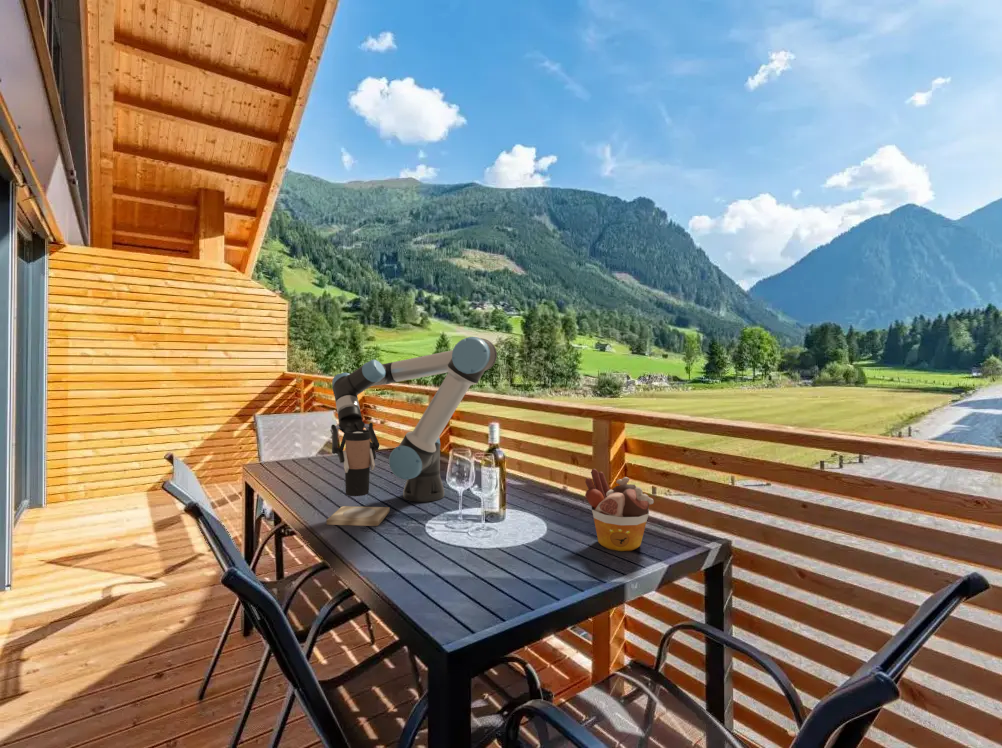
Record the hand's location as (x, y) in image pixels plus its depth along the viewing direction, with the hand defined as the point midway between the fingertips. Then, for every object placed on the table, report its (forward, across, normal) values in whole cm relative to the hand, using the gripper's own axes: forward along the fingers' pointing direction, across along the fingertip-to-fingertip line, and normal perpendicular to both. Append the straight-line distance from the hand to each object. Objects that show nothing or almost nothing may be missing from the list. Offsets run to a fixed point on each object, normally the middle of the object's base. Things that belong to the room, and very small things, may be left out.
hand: (360, 469), depth 160 cm
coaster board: (+10, 0, -14) cm, 17 cm away
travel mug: (+4, 0, -9) cm, 9 cm away
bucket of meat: (+49, -60, +26) cm, 81 cm away
